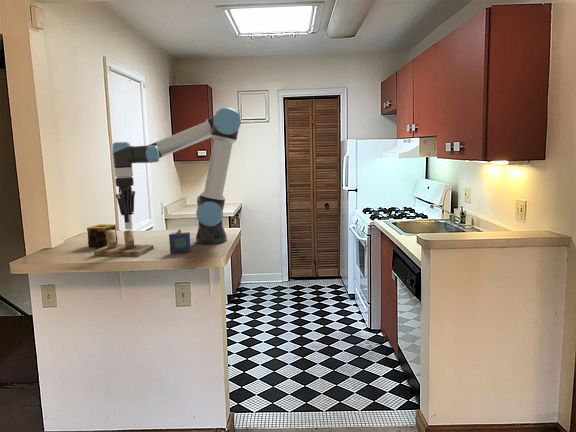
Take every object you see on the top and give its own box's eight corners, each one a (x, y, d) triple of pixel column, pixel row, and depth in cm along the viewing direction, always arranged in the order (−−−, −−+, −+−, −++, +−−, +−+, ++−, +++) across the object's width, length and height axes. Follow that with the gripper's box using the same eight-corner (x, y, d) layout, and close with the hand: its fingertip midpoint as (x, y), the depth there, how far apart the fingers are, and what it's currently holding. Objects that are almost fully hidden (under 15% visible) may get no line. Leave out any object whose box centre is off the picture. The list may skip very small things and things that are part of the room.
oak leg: (136, 251, 216) (134, 230, 214) (132, 253, 212) (130, 231, 210) (128, 251, 217) (126, 229, 215) (123, 253, 213) (121, 231, 211)
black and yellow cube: (106, 248, 224) (104, 228, 222) (87, 248, 226) (85, 227, 224) (118, 243, 234) (116, 224, 232) (100, 243, 236) (98, 224, 234)
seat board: (153, 248, 220) (152, 228, 218) (139, 256, 206) (137, 234, 204) (110, 248, 224) (108, 227, 222) (93, 255, 210) (91, 233, 208)
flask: (190, 250, 214) (188, 227, 212) (191, 252, 211) (190, 228, 210) (169, 253, 210) (168, 229, 209) (171, 254, 208) (169, 230, 206)
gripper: (124, 176, 216) (128, 226, 220) (108, 178, 203) (113, 231, 207) (139, 175, 214) (143, 226, 218) (124, 178, 202) (129, 231, 206)
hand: (128, 229), depth 213 cm, fingers closed
